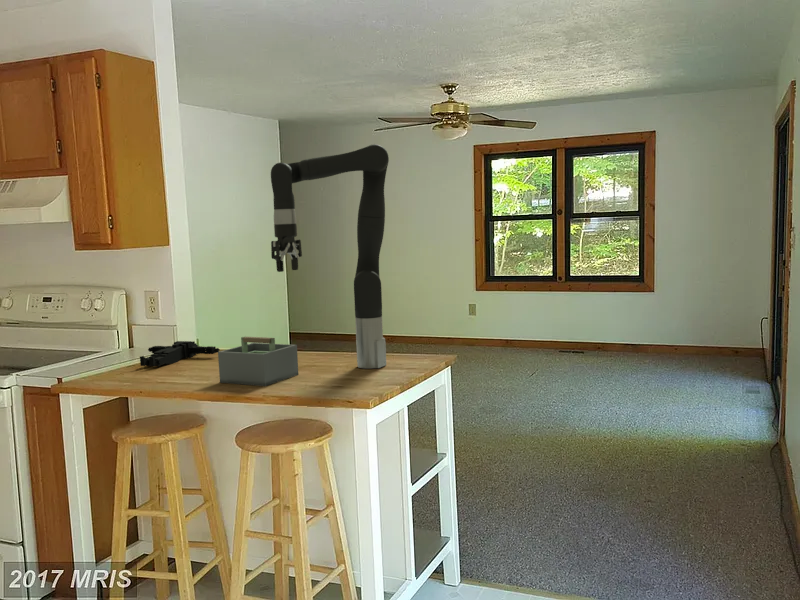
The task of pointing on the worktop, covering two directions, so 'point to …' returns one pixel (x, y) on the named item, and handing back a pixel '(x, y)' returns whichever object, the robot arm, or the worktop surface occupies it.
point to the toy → (175, 353)
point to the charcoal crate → (258, 364)
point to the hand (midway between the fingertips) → (287, 270)
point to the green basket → (257, 340)
